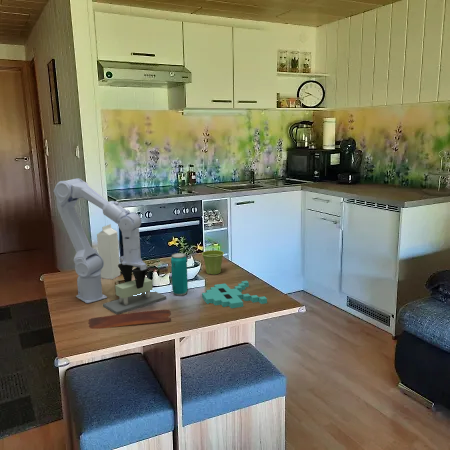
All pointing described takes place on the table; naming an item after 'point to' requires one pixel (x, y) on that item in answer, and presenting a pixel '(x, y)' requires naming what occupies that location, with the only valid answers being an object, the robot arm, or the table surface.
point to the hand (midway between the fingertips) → (134, 285)
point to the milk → (109, 252)
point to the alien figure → (230, 295)
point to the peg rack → (133, 302)
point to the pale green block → (132, 288)
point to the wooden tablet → (130, 319)
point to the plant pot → (213, 261)
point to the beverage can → (179, 274)
